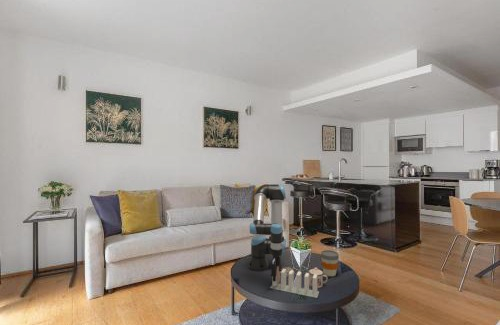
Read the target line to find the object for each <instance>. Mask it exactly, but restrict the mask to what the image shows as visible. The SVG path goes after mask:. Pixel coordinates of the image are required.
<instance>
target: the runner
mask: <svg viewBox="0 0 500 325" xmlns="http://www.w3.org/2000/svg"><path fill="white" fill-rule="evenodd" d="M269 289H272V290H277V291H282V292H286V293H293V294H296V295H297V294H298V295H300V296H302V295H303V296H307V297H312V298H316V299H317V298H318V296H319V293H320V291H318V290H317V294H316V296H312V292H313V289H309V292H308V295H306V294H304V287H301V291H300V293H297V292H296V286H294V288H293V290H292V291H288V284H286V287H285V289H284V290H282V289H281V283H278V285H277V286H272V285H271V286H270V287H269Z"/></svg>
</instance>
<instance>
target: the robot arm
mask: <svg viewBox="0 0 500 325" xmlns="http://www.w3.org/2000/svg"><path fill="white" fill-rule="evenodd" d="M253 199H254V208H253V209H254V210H253V219H252V220H253V222H251V223H250V224H249V234H250V235H256V236H254V237H252V238H251V241H250V259H249V262H248V268H249V270H251V271H256V272H261V271H262V272H263V271H266V270H268V269H269V262H268V259H267V255H271V256H272V259H271V261H270V262H271V272H270V276H271V277H272V284H271V286H277V276H276V273H277V266H279V283H281V271H282V270H281V269H282V264H281V262H282V261H281V259H282V258H281V257H282V255H284V254H285V252H286V243H287V239H286V238H285V235H283V203H284V202H285V200H286V199H287V198H286V188H285V186H284V184H278V183H277V184H275V183H274V184H265V183H264V184H262V185H260V186H259V187H258V188H257V189H256V190H255V192H254V196H253ZM268 199H269V200H268ZM266 200H268V201H269V202H270V204H271V206H270V208H271V210H270V214H271V216H270V223H264V221H265V204H266V203H265V202H266ZM266 236H268V238H267V237H266Z"/></svg>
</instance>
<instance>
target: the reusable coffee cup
mask: <svg viewBox="0 0 500 325" xmlns="http://www.w3.org/2000/svg"><path fill="white" fill-rule="evenodd" d="M320 257H321V260H320V261H321V267H322V272H323V275H326V276H327V277H335V276H336V275H337V270H338V268H339V258H340V257H339V253H338V252H336V251H333V250H328V249H327V250H321V253H320Z"/></svg>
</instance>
